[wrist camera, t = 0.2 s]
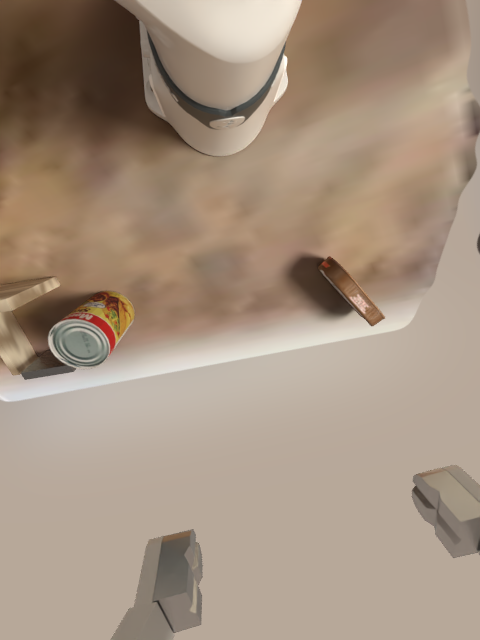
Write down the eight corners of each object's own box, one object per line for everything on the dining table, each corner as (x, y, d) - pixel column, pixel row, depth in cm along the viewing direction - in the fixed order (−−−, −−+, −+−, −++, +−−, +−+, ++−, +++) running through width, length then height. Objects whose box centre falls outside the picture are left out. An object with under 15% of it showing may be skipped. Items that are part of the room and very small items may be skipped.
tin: (368, 305, 49) (396, 323, 41) (355, 316, 50) (380, 336, 42) (322, 251, 44) (344, 261, 36) (308, 264, 45) (327, 276, 37)
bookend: (46, 350, 47) (20, 372, 41) (89, 343, 47) (69, 364, 41) (50, 356, 48) (24, 379, 41) (92, 349, 48) (73, 371, 42)
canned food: (107, 281, 43) (70, 307, 32) (144, 312, 46) (121, 345, 35) (79, 310, 44) (35, 345, 34) (116, 338, 47) (87, 378, 37)
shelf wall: (-29, 289, 41) (-107, 316, 31) (56, 276, 42) (6, 298, 32) (16, 361, 48) (-37, 403, 38) (90, 349, 48) (57, 388, 38)
